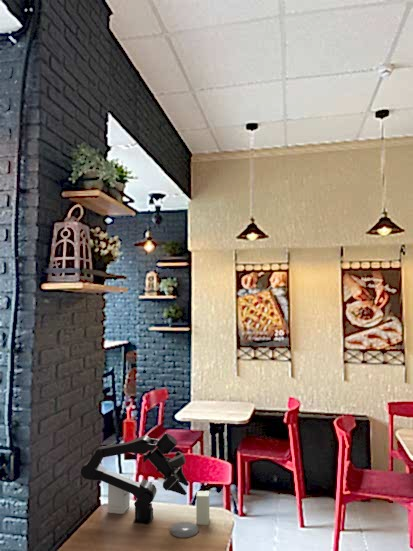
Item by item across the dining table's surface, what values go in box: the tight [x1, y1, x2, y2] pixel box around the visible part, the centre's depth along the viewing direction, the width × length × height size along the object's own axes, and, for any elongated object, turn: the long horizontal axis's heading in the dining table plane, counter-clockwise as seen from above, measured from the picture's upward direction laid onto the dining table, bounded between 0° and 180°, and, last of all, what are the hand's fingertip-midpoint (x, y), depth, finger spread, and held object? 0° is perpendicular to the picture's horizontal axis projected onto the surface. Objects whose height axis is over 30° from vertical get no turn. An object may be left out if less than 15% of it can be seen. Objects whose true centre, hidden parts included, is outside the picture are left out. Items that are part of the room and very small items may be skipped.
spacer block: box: [195, 490, 210, 526], centre depth 182 cm, size 5×5×11 cm
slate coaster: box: [169, 521, 200, 539], centre depth 175 cm, size 11×11×1 cm
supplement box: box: [107, 476, 131, 515], centre depth 193 cm, size 7×7×13 cm
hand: (187, 489), depth 183 cm, fingers open, 9 cm apart
